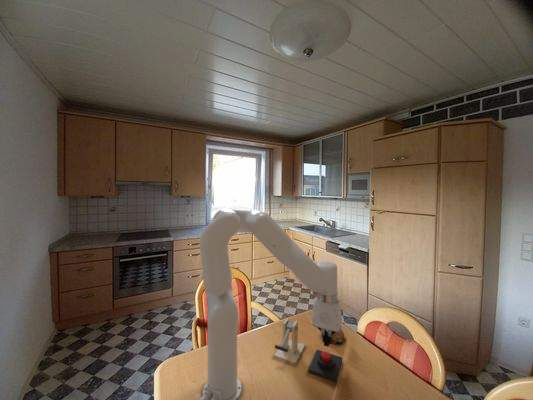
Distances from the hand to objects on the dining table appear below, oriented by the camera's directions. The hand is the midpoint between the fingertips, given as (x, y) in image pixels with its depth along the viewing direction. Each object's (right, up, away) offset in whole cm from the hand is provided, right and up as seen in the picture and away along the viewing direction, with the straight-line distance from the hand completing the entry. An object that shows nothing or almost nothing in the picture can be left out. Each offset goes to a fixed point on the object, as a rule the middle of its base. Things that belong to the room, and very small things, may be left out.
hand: (327, 344), depth 86 cm
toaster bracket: (-13, -9, +9) cm, 18 cm away
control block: (-1, -9, 0) cm, 9 cm away
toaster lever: (-15, -1, +5) cm, 15 cm away
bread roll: (+7, -9, +17) cm, 21 cm away
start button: (-1, -6, 0) cm, 6 cm away
